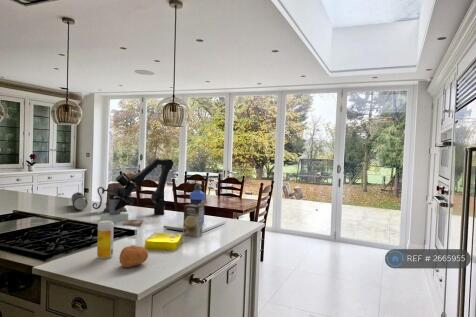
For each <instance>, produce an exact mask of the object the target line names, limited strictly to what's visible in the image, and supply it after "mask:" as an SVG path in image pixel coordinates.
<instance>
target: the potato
mask: <svg viewBox="0 0 476 317" xmlns="http://www.w3.org/2000/svg"><path fill="white" fill-rule="evenodd" d="M148 258H149V252H148V250H147V249H145V247H143V246H138V245H134V244H133V245H132V244H131V245H129V246H124V247H123V248H122V249H121V251H120V255H119V258H118V260H119V264H120V265H122V267H124V268H132V267H135V266H137V265H140V264H143V263H145V262H146V260H147V259H148Z"/></svg>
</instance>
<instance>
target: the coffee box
mask: <svg viewBox="0 0 476 317" xmlns="http://www.w3.org/2000/svg"><path fill="white" fill-rule="evenodd" d="M203 225H204V224H203V205H194V204H191V203H189V204H185V205H183V224H182V226H183V227H182V229H183V230H182V236H188V237H194V238H195V237H196V238H199V237H200V236H203Z"/></svg>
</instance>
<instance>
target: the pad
mask: <svg viewBox="0 0 476 317" xmlns="http://www.w3.org/2000/svg"><path fill="white" fill-rule="evenodd" d="M143 222H144V220H143V219H128V220H124V222H123V223H122V225H123V226H131V227H141V226H142V225H143Z"/></svg>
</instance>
